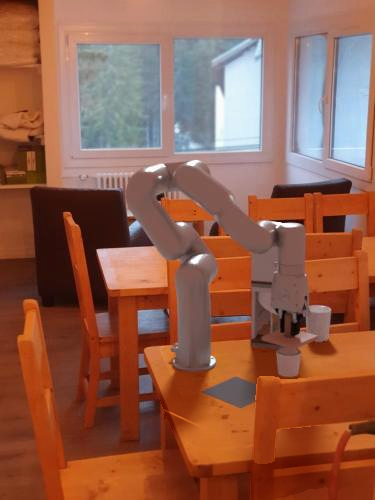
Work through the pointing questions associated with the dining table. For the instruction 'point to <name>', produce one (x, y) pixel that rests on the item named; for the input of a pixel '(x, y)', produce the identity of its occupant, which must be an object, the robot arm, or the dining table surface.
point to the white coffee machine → (263, 298)
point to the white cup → (319, 322)
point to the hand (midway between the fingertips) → (289, 332)
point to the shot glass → (288, 361)
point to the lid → (289, 335)
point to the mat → (234, 391)
